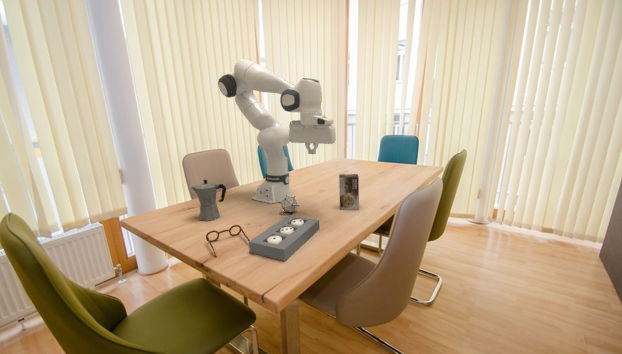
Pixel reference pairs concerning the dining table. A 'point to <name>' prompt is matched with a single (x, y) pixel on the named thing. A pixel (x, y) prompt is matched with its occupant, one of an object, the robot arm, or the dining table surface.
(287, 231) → the button three
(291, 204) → the game die
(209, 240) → the glasses
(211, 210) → the coffeepot
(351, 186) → the coffee box
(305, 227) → the button panel
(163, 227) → the dining table surface
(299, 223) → the button two
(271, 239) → the button one
